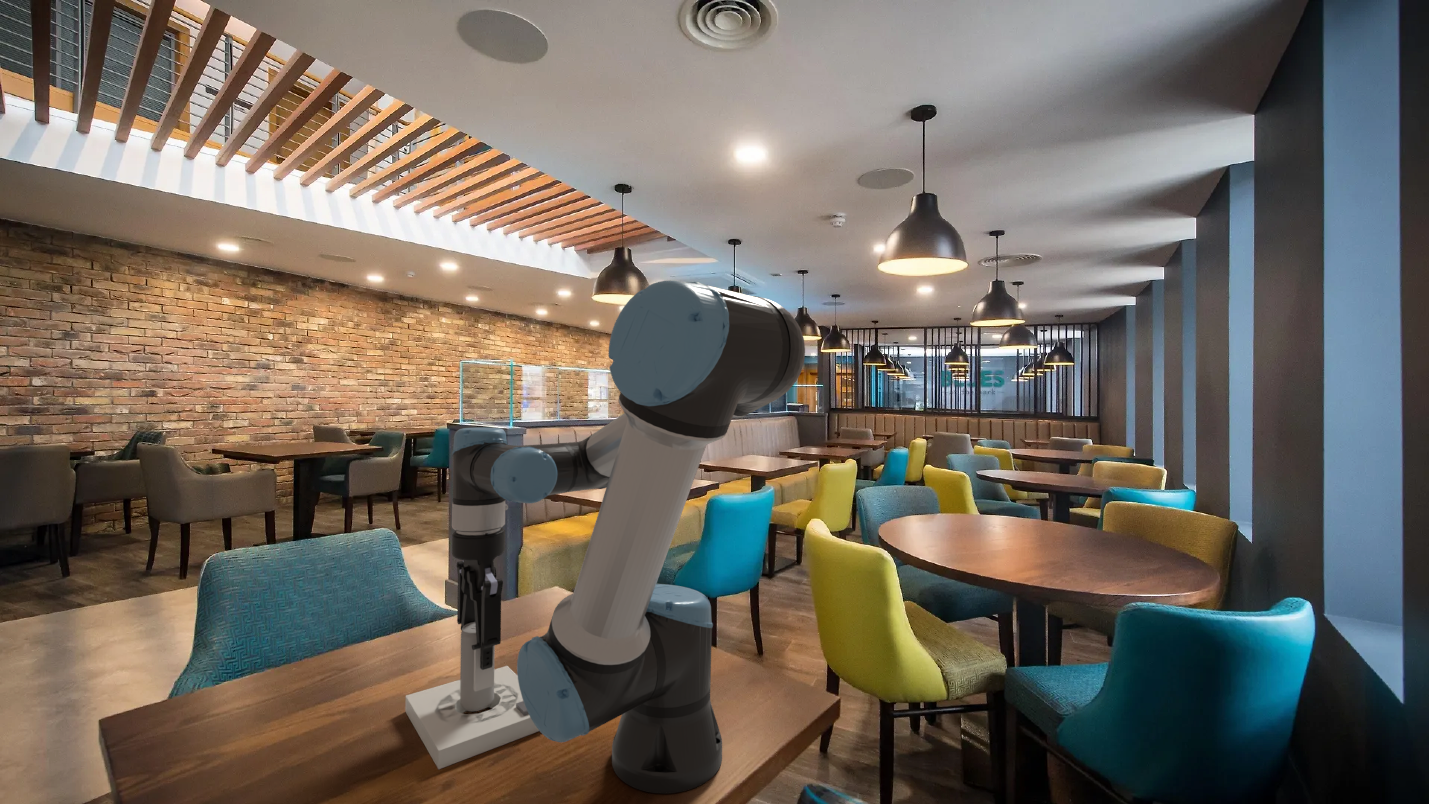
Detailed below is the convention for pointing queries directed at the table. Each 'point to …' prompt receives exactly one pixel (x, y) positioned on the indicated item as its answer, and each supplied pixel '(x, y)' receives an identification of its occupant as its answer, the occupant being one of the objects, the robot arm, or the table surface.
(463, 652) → the beverage can
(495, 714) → the socket plate
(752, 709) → the table surface
